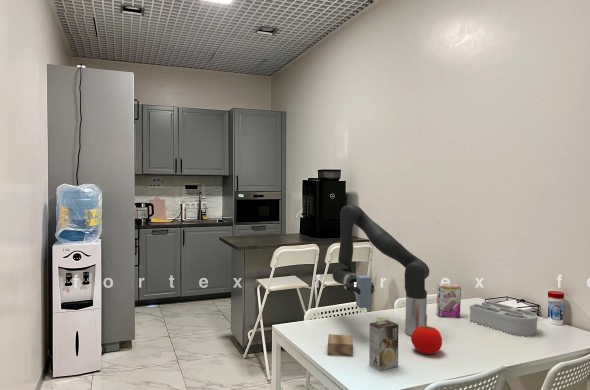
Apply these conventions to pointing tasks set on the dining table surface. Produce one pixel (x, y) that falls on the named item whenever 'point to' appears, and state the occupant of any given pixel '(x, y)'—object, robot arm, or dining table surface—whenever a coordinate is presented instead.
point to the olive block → (381, 319)
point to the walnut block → (340, 345)
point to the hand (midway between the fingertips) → (365, 291)
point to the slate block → (363, 291)
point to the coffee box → (383, 345)
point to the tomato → (426, 339)
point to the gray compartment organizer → (504, 318)
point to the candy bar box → (448, 300)
